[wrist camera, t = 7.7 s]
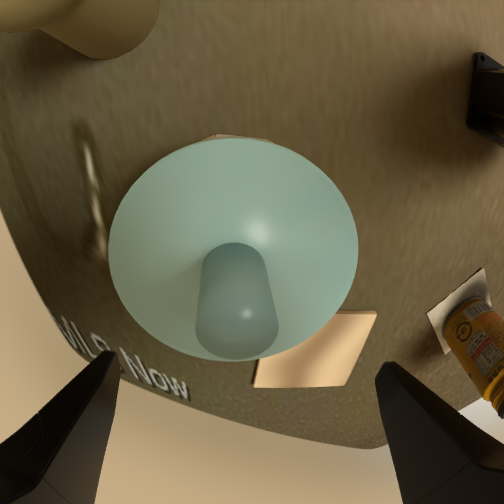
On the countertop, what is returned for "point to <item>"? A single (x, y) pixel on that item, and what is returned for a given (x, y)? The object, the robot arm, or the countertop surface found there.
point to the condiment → (474, 336)
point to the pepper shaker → (84, 22)
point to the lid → (233, 249)
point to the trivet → (319, 354)
